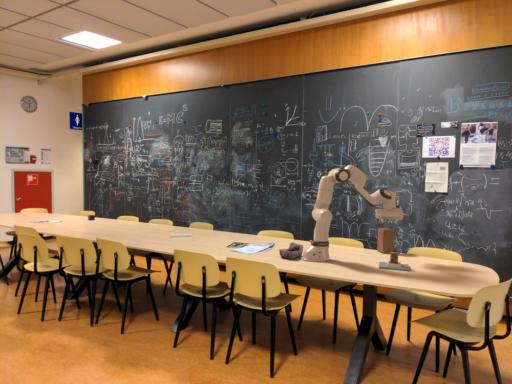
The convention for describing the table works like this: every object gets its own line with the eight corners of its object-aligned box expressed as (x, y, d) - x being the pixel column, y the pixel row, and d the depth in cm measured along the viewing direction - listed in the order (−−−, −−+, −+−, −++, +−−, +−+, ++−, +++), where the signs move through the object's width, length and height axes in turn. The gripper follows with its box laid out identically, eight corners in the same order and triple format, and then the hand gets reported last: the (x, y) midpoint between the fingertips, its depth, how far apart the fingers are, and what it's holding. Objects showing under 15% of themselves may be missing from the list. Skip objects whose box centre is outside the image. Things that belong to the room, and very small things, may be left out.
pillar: (390, 265, 267) (390, 253, 266) (389, 264, 272) (390, 251, 271) (397, 266, 265) (398, 253, 265) (397, 265, 270) (397, 252, 270)
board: (378, 268, 264) (379, 263, 264) (379, 263, 279) (379, 259, 279) (409, 271, 258) (410, 266, 258) (408, 266, 273) (408, 261, 273)
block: (382, 253, 315) (383, 229, 314) (376, 251, 325) (377, 227, 324) (393, 253, 317) (394, 229, 316) (387, 250, 327) (388, 227, 326)
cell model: (305, 242, 297) (291, 246, 282) (304, 256, 298) (291, 261, 282) (291, 240, 305) (277, 244, 290) (290, 253, 306) (276, 258, 290)
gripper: (375, 205, 294) (374, 219, 286) (403, 206, 288) (403, 220, 279) (375, 210, 299) (374, 224, 290) (403, 212, 292) (403, 226, 284)
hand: (389, 222), depth 285 cm, fingers open, 8 cm apart
